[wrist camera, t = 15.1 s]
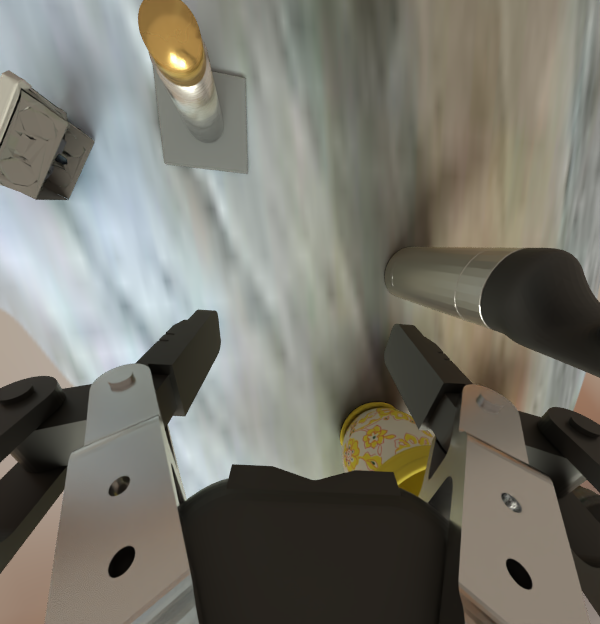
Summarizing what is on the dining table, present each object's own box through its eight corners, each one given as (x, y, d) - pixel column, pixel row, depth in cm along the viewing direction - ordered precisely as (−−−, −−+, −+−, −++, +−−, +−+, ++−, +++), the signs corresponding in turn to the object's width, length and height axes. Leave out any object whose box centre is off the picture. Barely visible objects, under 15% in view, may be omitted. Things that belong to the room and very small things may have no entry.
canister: (222, 103, 26) (202, -1, 15) (224, 145, 28) (205, 78, 16) (183, 95, 25) (130, -23, 14) (186, 139, 27) (139, 63, 15)
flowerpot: (336, 393, 44) (383, 471, 29) (410, 388, 49) (485, 454, 33) (324, 461, 49) (359, 559, 34) (393, 451, 53) (451, 534, 38)
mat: (245, 81, 27) (245, 78, 26) (247, 173, 30) (247, 172, 29) (154, 62, 25) (152, 58, 24) (166, 164, 27) (164, 162, 27)
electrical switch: (60, 108, 24) (-29, 43, 16) (114, 145, 26) (61, 105, 18) (27, 185, 25) (-71, 162, 17) (82, 213, 27) (18, 206, 19)
